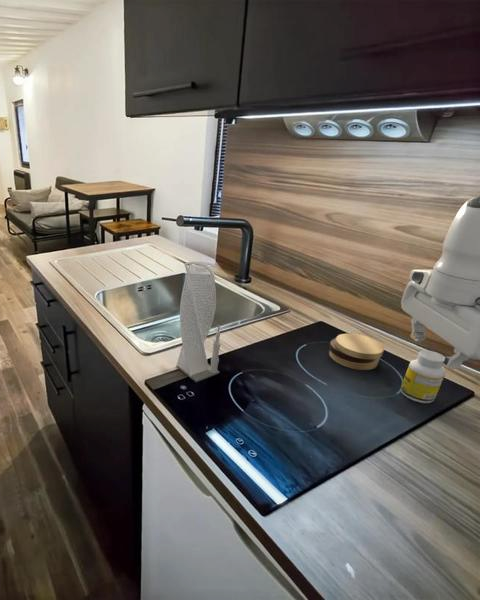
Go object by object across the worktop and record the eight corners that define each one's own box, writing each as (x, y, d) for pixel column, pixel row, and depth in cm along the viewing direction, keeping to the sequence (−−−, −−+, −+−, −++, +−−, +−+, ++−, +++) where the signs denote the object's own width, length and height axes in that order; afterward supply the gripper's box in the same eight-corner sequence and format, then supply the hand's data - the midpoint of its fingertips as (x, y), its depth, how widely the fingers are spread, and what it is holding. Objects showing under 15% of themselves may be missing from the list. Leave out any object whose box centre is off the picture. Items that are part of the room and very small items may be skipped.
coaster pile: (364, 348, 91) (369, 332, 90) (387, 371, 83) (393, 354, 81) (321, 346, 93) (325, 331, 91) (339, 369, 84) (343, 352, 83)
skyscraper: (191, 384, 83) (201, 268, 71) (168, 366, 89) (174, 257, 78) (219, 373, 86) (233, 260, 74) (195, 356, 92) (205, 250, 81)
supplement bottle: (401, 383, 79) (416, 345, 75) (435, 394, 75) (452, 354, 71) (397, 396, 75) (412, 356, 71) (432, 408, 72) (450, 367, 68)
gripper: (537, 314, 55) (497, 387, 61) (440, 268, 73) (417, 327, 79) (488, 313, 56) (453, 385, 62) (405, 267, 75) (384, 326, 80)
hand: (432, 352), depth 71 cm, fingers open, 8 cm apart
